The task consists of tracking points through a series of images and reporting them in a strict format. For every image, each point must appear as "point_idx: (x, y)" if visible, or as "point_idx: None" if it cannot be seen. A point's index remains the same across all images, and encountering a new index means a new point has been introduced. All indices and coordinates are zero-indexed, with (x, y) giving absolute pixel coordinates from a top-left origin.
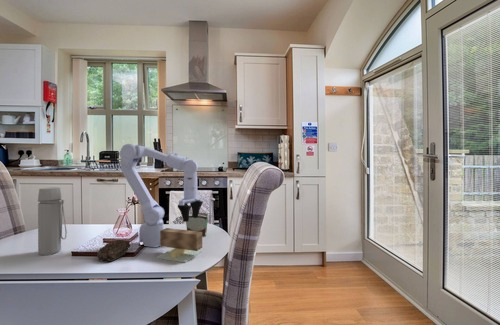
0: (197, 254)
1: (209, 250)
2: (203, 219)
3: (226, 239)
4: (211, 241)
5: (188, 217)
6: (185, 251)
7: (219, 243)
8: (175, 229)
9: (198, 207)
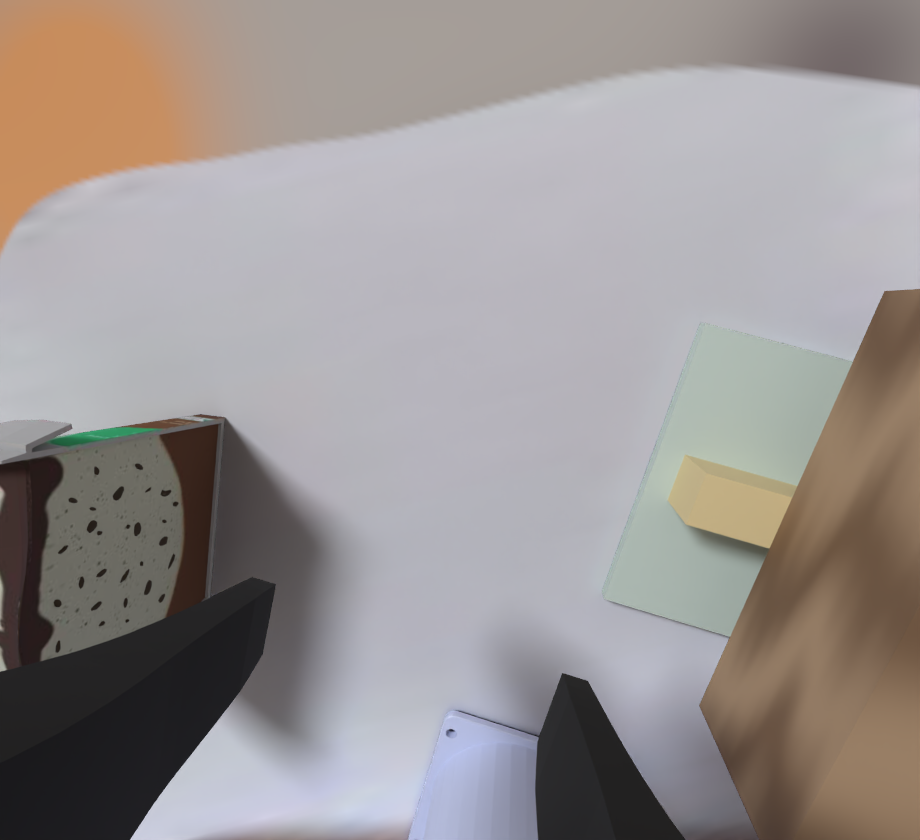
0: (804, 349)
1: (662, 259)
2: (65, 499)
3: (277, 152)
4: (370, 310)
5: (599, 727)
6: (774, 480)
7: (426, 203)
8: (870, 750)
9: (119, 711)
